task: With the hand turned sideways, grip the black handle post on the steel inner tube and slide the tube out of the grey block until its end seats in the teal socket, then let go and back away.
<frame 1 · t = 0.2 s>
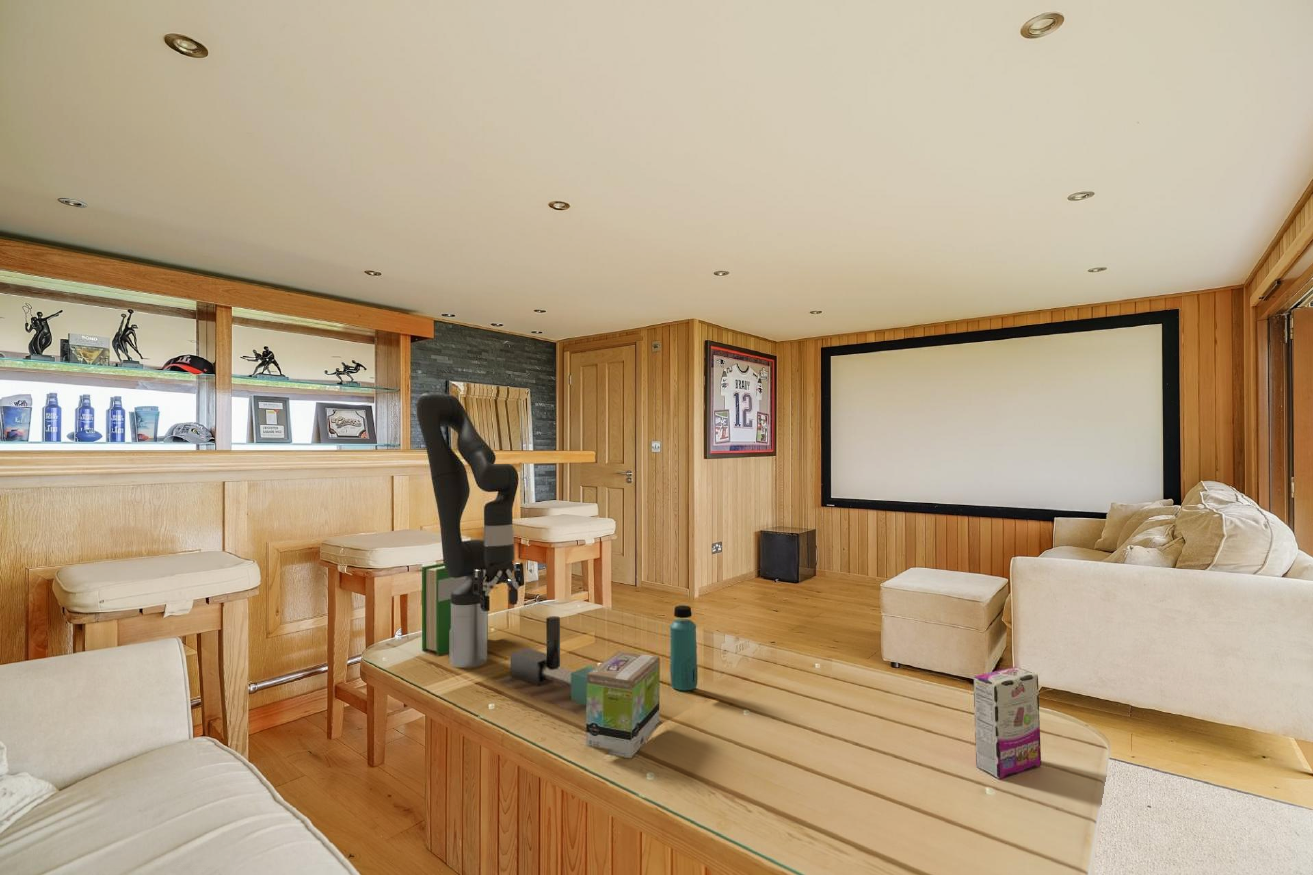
hand: (499, 607, 156), 18 cm above the table, tool pointing down, fingers open, 8 cm apart
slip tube: (547, 647, 149), point 10 cm above the table, slide at 0.0 cm
grey block: (532, 678, 153), resting on base board
base board: (557, 692, 147), on the table
beverage bottle: (683, 692, 146), on the table
socket: (591, 699, 139), resting on base board
candy bar box: (1007, 768, 111), on the table
hardback book: (455, 645, 183), on the table
tea box: (624, 739, 123), on the table
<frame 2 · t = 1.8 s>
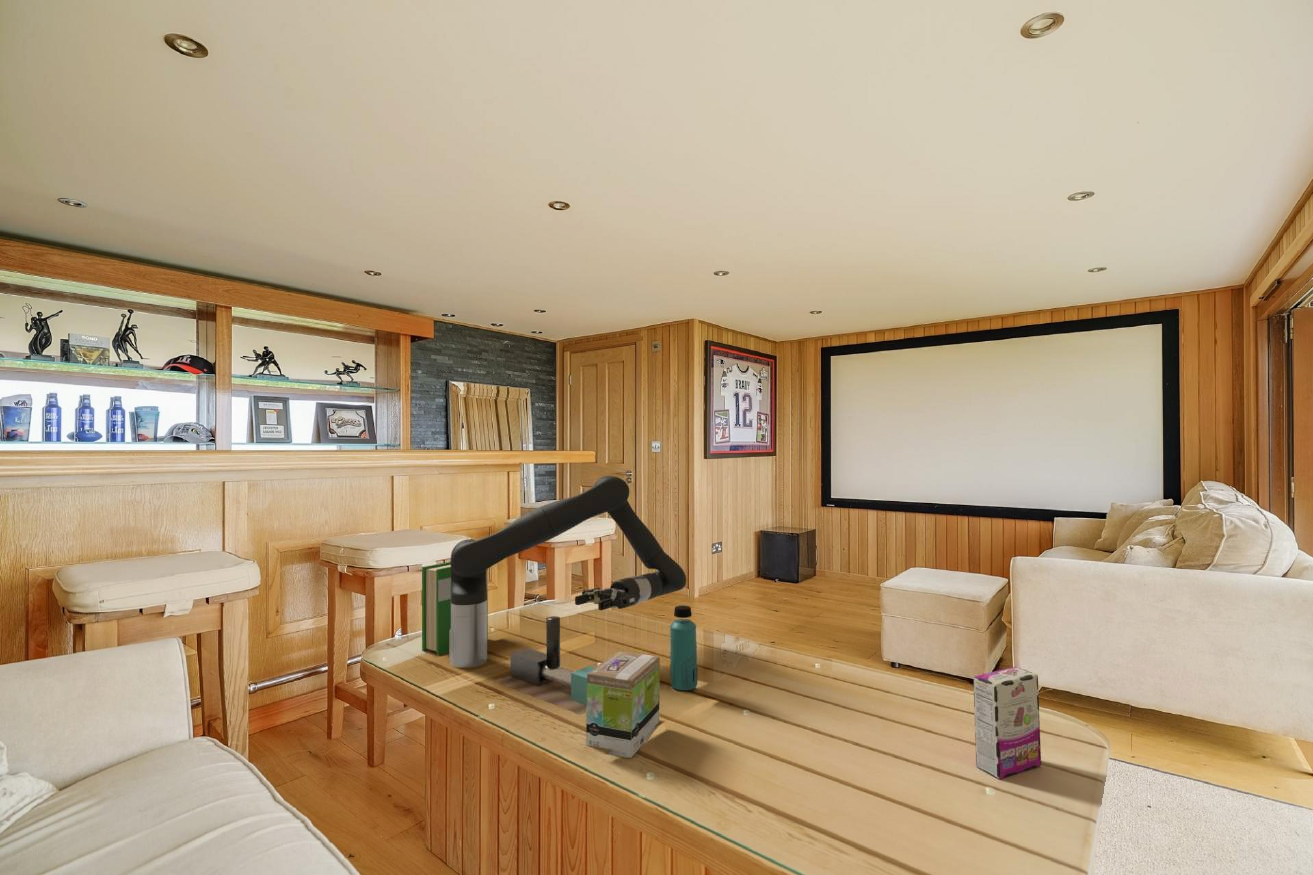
hand: (587, 603, 156), 18 cm above the table, tool horizontal, fingers open, 8 cm apart
nothing on the table moved.
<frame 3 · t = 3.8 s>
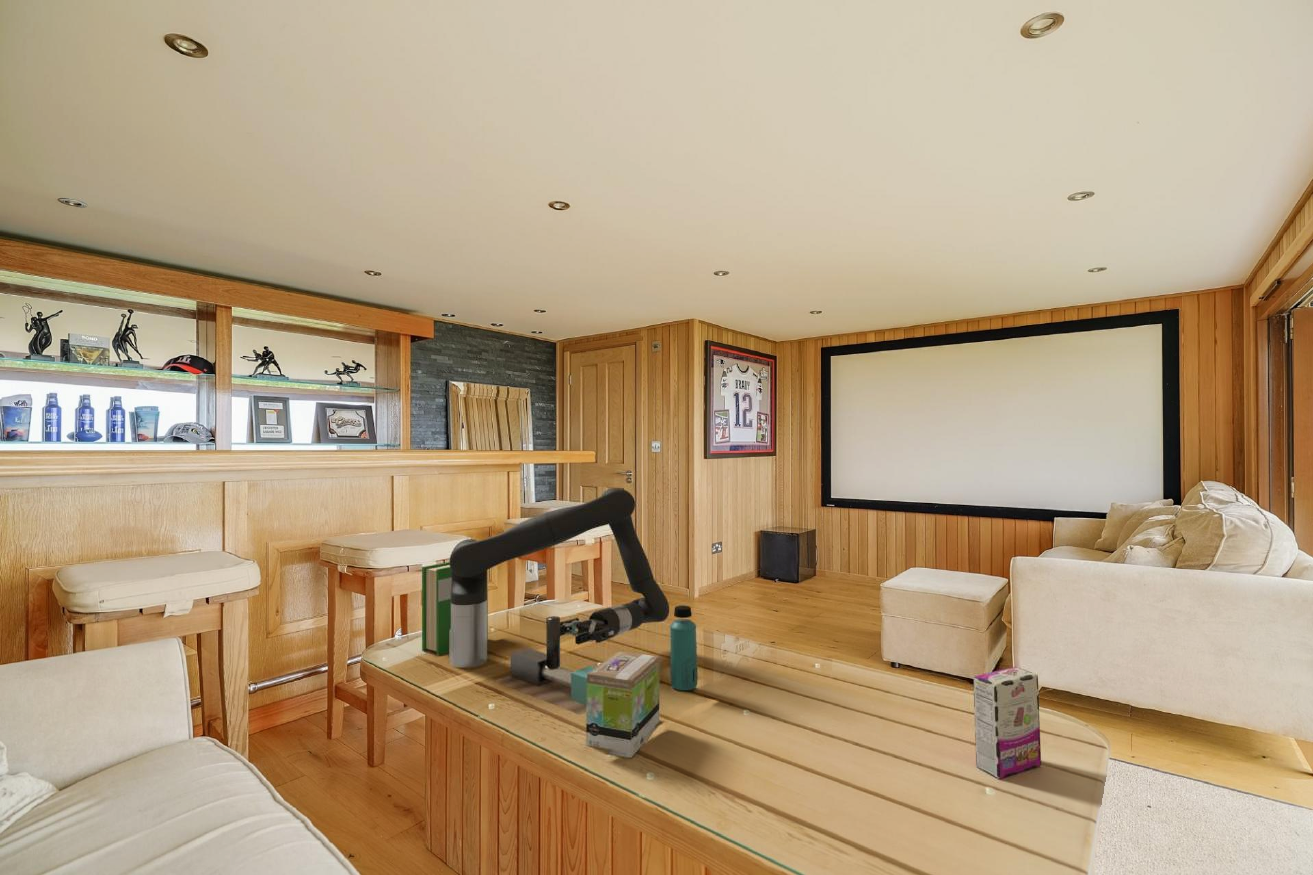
hand: (564, 636, 151), 12 cm above the table, tool horizontal, fingers open, 8 cm apart
nothing on the table moved.
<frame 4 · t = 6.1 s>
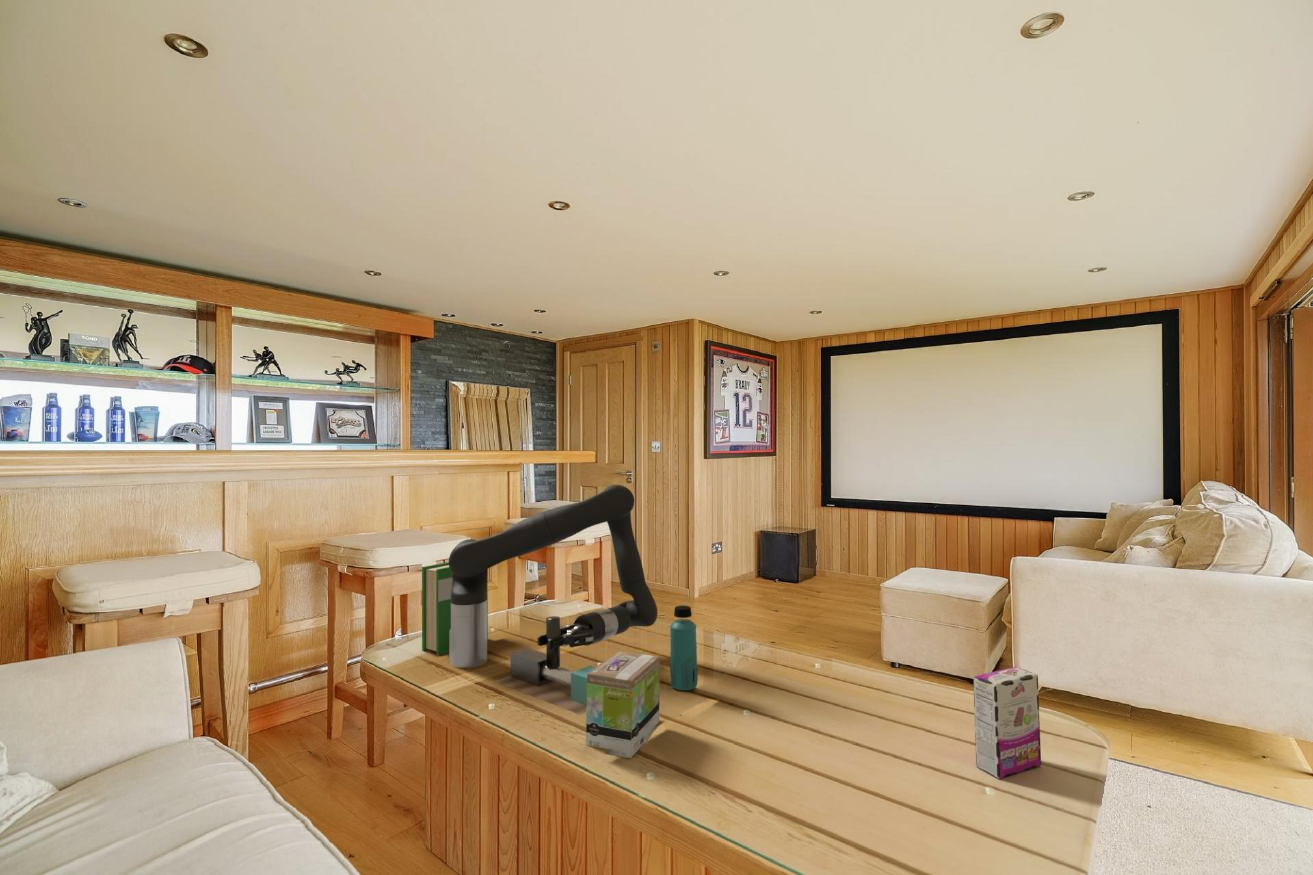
hand: (544, 643, 146), 12 cm above the table, tool horizontal, fingers closed on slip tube, 3 cm apart
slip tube: (547, 647, 149), point 10 cm above the table, slide at 0.0 cm, touching gripper
everything else where it was.
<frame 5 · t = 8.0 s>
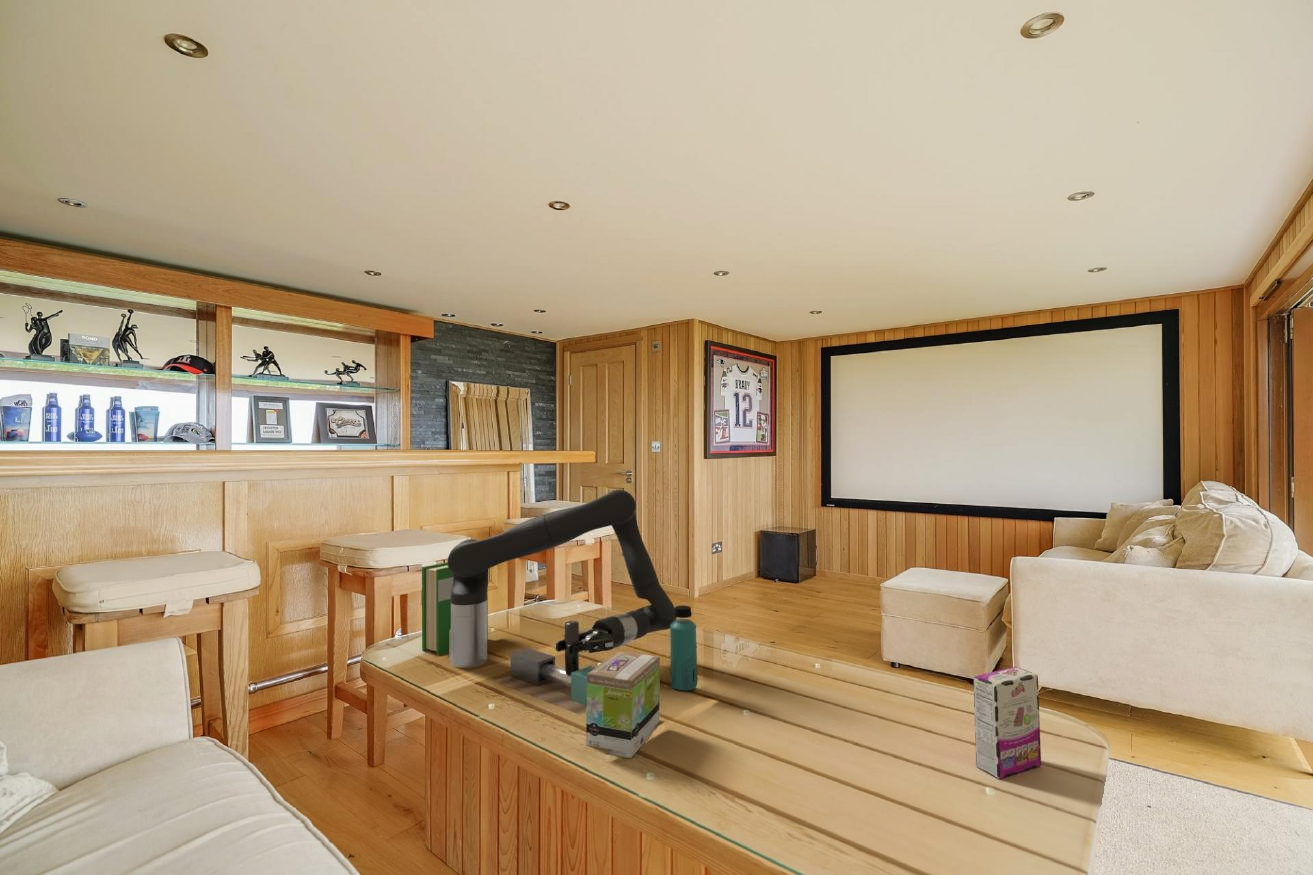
hand: (562, 648, 141), 12 cm above the table, tool horizontal, fingers closed on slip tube, 3 cm apart
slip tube: (565, 652, 145), point 10 cm above the table, slide at 6.5 cm, touching gripper
everything else where it was.
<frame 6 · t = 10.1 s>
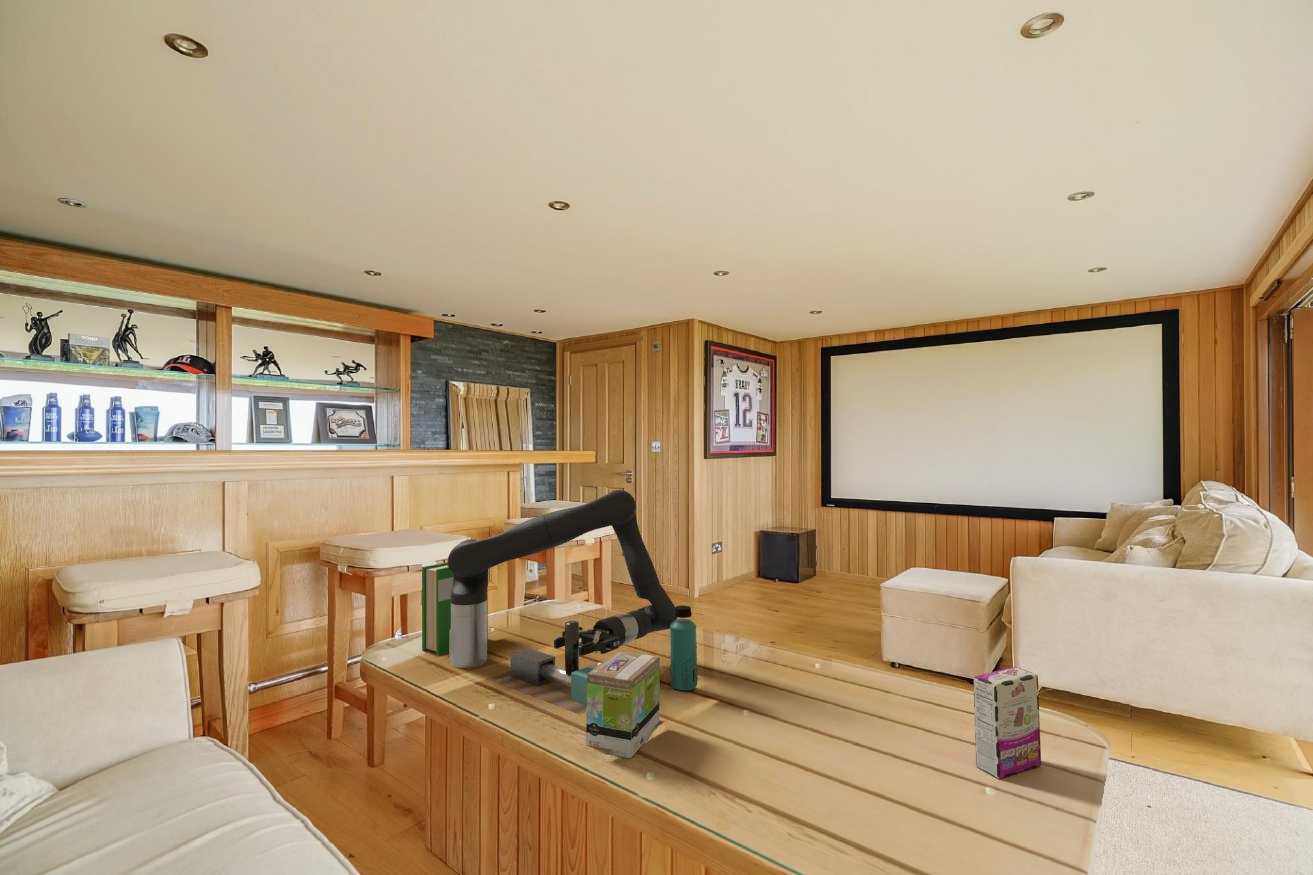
hand: (567, 647, 142), 12 cm above the table, tool horizontal, fingers open, 8 cm apart
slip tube: (565, 652, 145), point 10 cm above the table, slide at 6.5 cm
everything else where it was.
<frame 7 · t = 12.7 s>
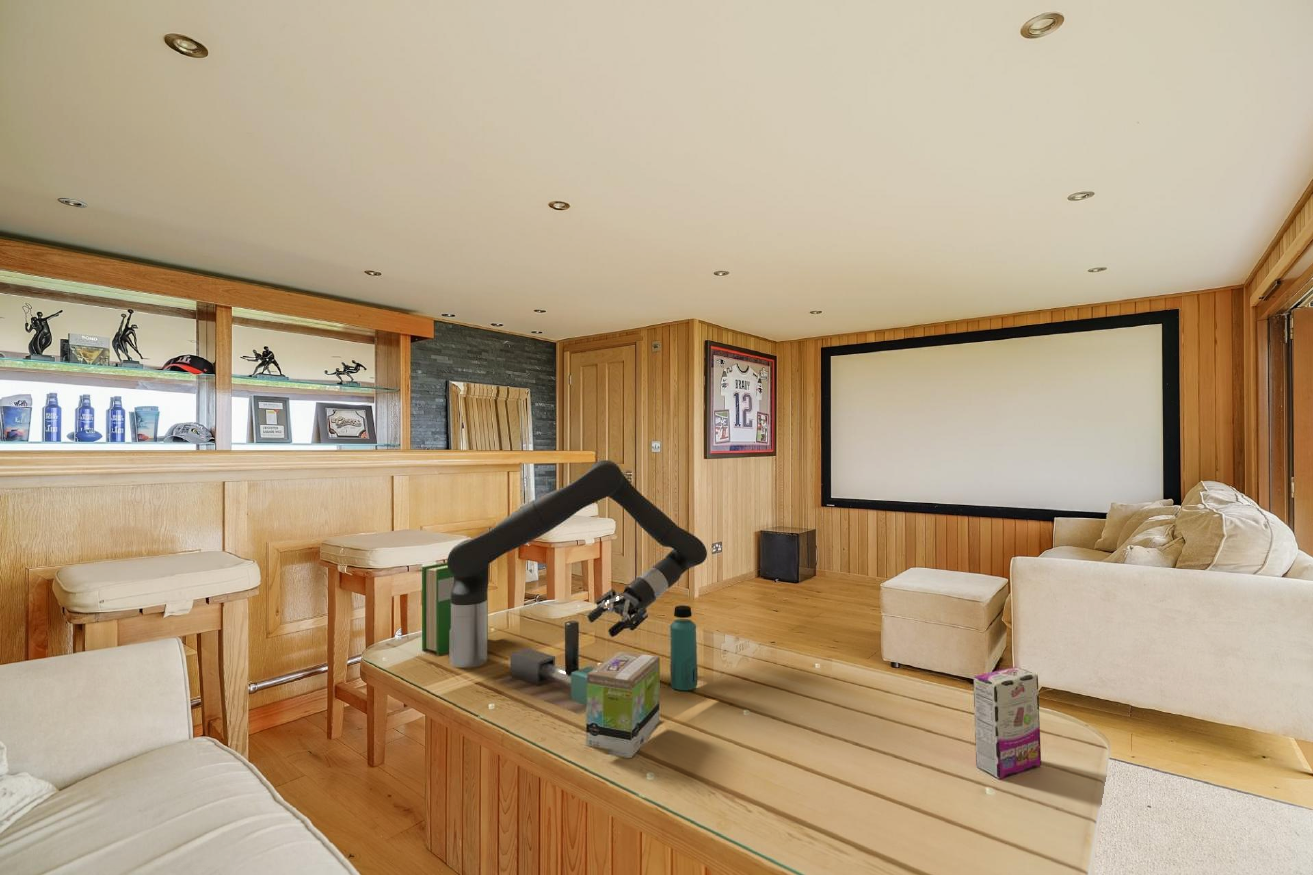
hand: (599, 626, 153), 14 cm above the table, tool tilted 65°, fingers open, 8 cm apart
nothing on the table moved.
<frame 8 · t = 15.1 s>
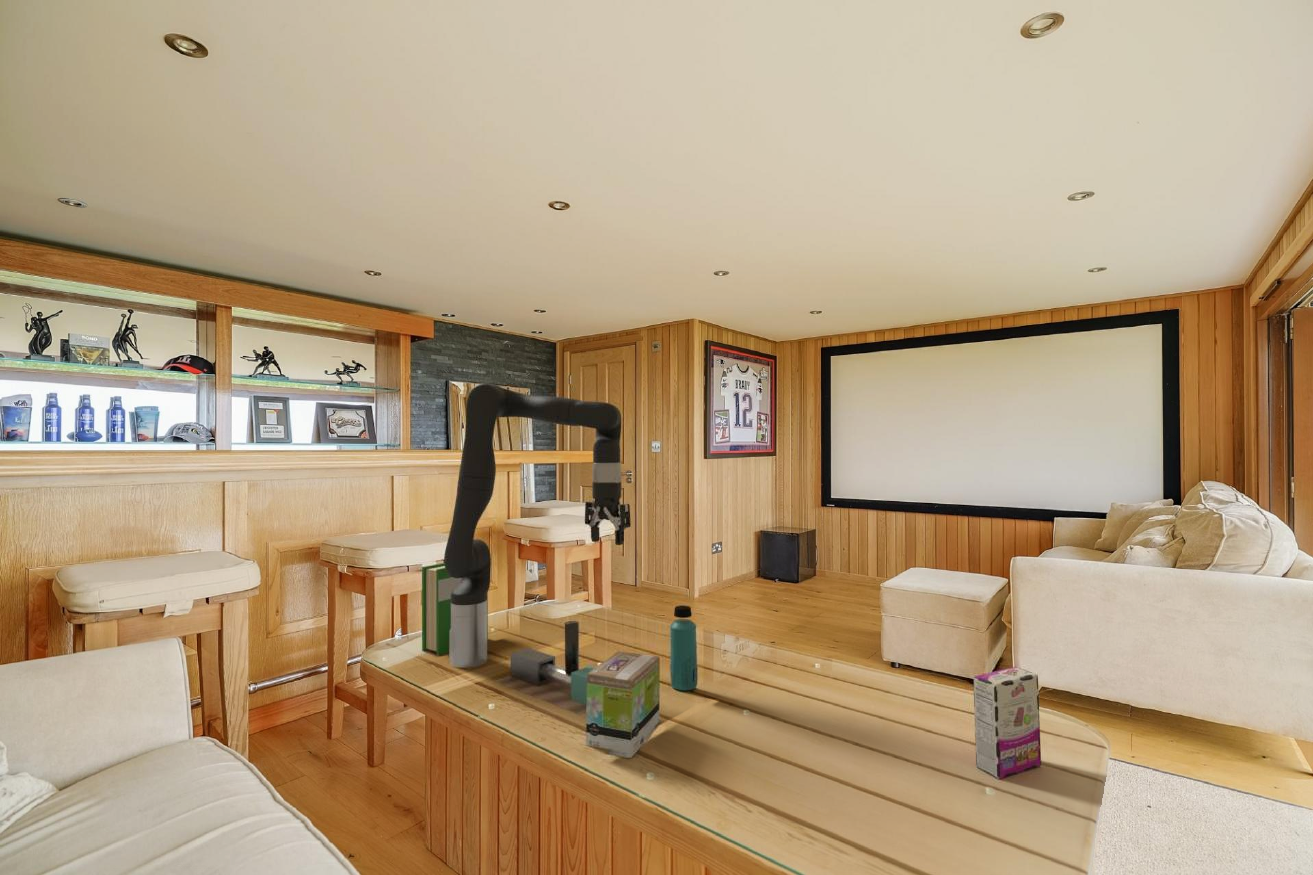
hand: (607, 543, 160), 33 cm above the table, tool pointing down, fingers open, 8 cm apart
nothing on the table moved.
at the end: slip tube slide at 6.5 cm; the gripper is holding nothing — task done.
